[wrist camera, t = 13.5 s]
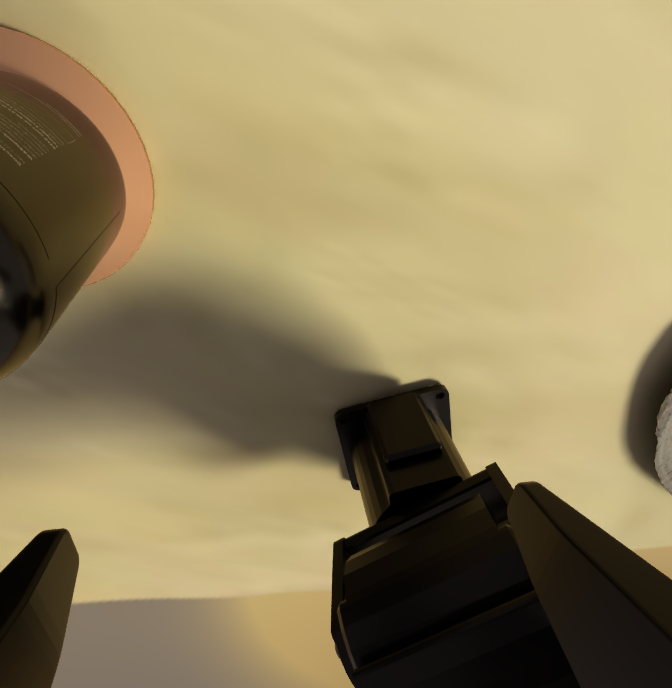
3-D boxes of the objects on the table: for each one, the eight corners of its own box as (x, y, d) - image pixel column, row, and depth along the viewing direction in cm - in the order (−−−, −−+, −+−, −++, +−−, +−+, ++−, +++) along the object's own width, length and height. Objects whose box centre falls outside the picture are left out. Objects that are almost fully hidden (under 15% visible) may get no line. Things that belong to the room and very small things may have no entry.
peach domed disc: (189, 257, 19) (187, 260, 19) (-22, 308, 19) (-27, 313, 18) (83, -6, 14) (79, -8, 14) (-205, 58, 14) (-216, 58, 13)
